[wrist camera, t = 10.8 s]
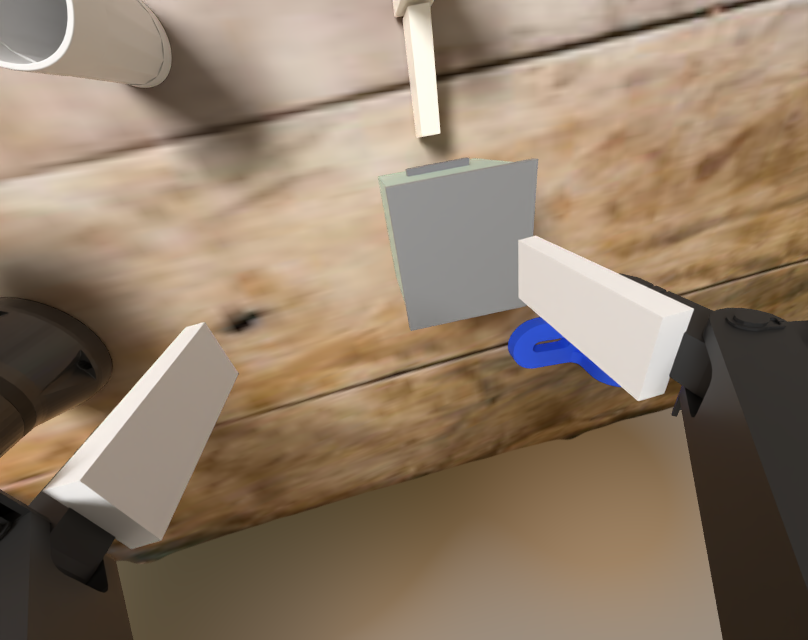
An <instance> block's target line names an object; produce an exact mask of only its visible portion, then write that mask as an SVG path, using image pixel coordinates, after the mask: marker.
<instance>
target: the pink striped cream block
mask: <svg viewBox="0 0 808 640" xmlns="http://www.w3.org/2000/svg"><path fill="white" fill-rule="evenodd" d="M433 2H434V0H393V8H394V16H395V18H396V17H402V16H404V17H403V28H404V36H405V45H406V54H407V62H408V71H409V79H410V88H411V97H412V105H413V114H414V123H415V131H416V138H417V137H424V136H430V135H435V134H440V122H439V109H438V97H437V84H436V72H435V59H434V47H433V34H432V22H431V9H430V7H431V5H432V4H433Z"/></svg>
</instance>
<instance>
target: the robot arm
mask: <svg viewBox="0 0 808 640" xmlns="http://www.w3.org/2000/svg"><path fill="white" fill-rule="evenodd" d="M518 286H519V299H521V300H522V301H523V302H524V303H525V304H526V305H528V306H529V307H530V308H531V309H532V310H533V311H534V312H536V313H537V314H538V315H539V316H540V317H541V318H543V319H544V320H545V321H546V322H547V323H548V324H549V325H551V326H552V327H553V328H554V329H555V330H556V331H558V332H559V333H560V334H561V335H562V336H563V337H565V338H566V339H567V340H568V341H569V342H570V343H571V344H573V345H574V346H575V347H576V348H577V349H578V350H580V351H581V352H582V353H583V354H584V355H585V356H587V357H588V358H589V359H590V360H591V361H592V362H593V363H595V364H596V365H597V366H598V367H599V368H600V369H602V370H603V371H604V372H605V373H606V374H607V375H608V376H610V377H611V378H612V379H613V380H614V381H615V382H617V383H618V384H619V385H620V386H621V387H622V388H624V389H625V390H626V391H627V392H628V393H629V394H630V395H632V396H633V397H634V398H635V399H636V400H637V401H641V400H644V399H647V398H651V397H654V396H658V395H661V394H664V392H665V389H666V387H667V384H668V381H669V378H670V377H671V378H673V379H674V380H675V381H677V382H678V383H680V384H681V385H682V387H681V390H680V392H679V395H678V397H677V400H676V402H675V405H674V408H673V411H672V416H677V415H678V412H679V410H682V415H683V421H684V427H685V432H686V438H687V443H688V448H689V454H690V460H691V465H692V471H693V477H694V482H695V487H696V493H697V499H698V504H699V510H700V515H701V521H702V526H703V532H704V538H705V543H706V548H707V554H708V560H709V565H710V571H711V577H712V582H713V587H714V593H715V599H716V604H717V610H718V615H719V621H720V627H721V632H722V638H723V640H808V321H792V322H787V321H785V320H784V319H781V318H779V317H777V316H775V315H773V314H769V313H766V312H762V311H758V310H753V309H745V308H724V309H719V310H716V311H712V310H710V309H708V308H706V307H703V306H701V305H699V304H697V303H694V302H692V301H690V300H688V299H685V298H683V297H681V296H679V295H676V294H674V293H672V292H670V291H669V292H666V290H665V289H663V288H661V287H658V286H654V285H653V284H652V283H649V282H647V281H645V280H643V279H640V278H638V277H633V276H629V275H624V274H618V273H615V272H613V271H611V270H609V269H607V268H605V267H603V266H600V265H598V264H596V263H594V262H592V261H590V260H587V259H585V258H583V257H581V256H579V255H577V254H574V253H572V252H570V251H568V250H566V249H564V248H562V247H559V246H557V245H555V244H553V243H551V242H549V241H546V240H544V239H542V238H540V237H538V236H532V237H528V238H525V239H521V240H518ZM111 372H112V362H111V358H110V355H109V353H108V350H107V349H106V347H105V346H104V344H103V343H102V341H101V340H100V339H99V338H98V337H97V336H96V335H95V334H94V333H93V332H92V331H91V330H90V329H89V328H87V327H86V326H85V325H84V324H82V323H81V322H79V321H78V320H76V319H75V318H73V317H71V316H69V315H68V314H66V313H64V312H62V311H59V310H57V309H55V308H52V307H50V306H47V305H44V304H41V303H37V302H34V301H29V300H24V299H18V298H8V297H0V457H2V456H3V455H4V454H5V453H6V452H7V451H8V450H9V449H10V448H12V447H13V446H14V445H15V444H16V443H17V442H18V441H19V440H20V439H21V438H23V437H24V436H25V435H26V434H27V433H28V432H29V431H31V430H32V429H33V428H34V427H36V426H38V425H40V424H42V423H44V422H46V421H48V420H50V419H52V418H54V417H56V416H58V415H60V414H62V413H64V412H66V411H68V410H70V409H72V408H74V407H76V406H78V405H80V404H82V403H83V402H85V401H87V400H88V399H90V398H91V397H92V396H93V395H94V394H96V393H97V392H98V391H99V390H100V389H101V388H102V387H103V386H104V385H105V384H106V383H107V381H108V380H109V378H110V375H111ZM238 374H239V373H238V372H237V370H236V369H235V367H234V366H233V364H232V363H231V361H230V359H229V358H228V356H227V355H226V353H225V352H224V350H223V349H222V347H221V346H220V344H219V343H218V341H217V340H216V338H215V337H214V335H213V334H212V332H211V331H210V329H209V328H208V326H207V325H206V323H205V322H204V323H200V324H196V325H192V326H188V327H185V329H184V330H183V331H182V332H181V333H180V334H179V335H178V337H177V338H176V339H175V340H174V341H173V342H172V343H171V345H170V346H169V347H168V348H167V349H166V350H165V351H164V353H163V354H162V355H161V356H160V357H159V358H158V359H157V361H156V362H155V363H154V364H153V365H152V366H151V367H150V369H149V370H148V371H147V372H146V373H145V374H144V375H143V377H142V378H141V379H140V380H139V381H138V382H137V383H136V385H135V386H134V387H133V388H132V389H131V390H130V391H129V393H128V394H127V395H126V396H125V397H124V398H123V399H122V401H121V402H120V403H119V404H118V405H117V406H116V407H115V409H114V410H113V411H112V412H111V413H110V414H109V415H108V417H107V418H106V419H105V420H104V421H103V422H102V423H101V424H100V425H99V426H98V427H97V428H96V429H95V430H94V432H93V433H92V434H91V435H90V436H89V437H88V438H87V440H86V441H85V443H84V444H82V445H81V446H80V448H79V449H78V450H77V451H76V452H75V453H74V455H73V457H71V458H70V459H69V460H68V461H67V462H66V464H65V465H64V466H63V467H62V468H61V469H60V470H59V472H58V473H57V474H56V475H55V476H54V477H53V478H52V479H51V481H50V482H49V483H48V484H47V485H46V486H45V487H44V489H43V490H42V491H41V492H40V493H39V494H38V495H37V497H36V498H35V499H34V500H33V501H32V502H31V503H30V505H29V506H27V505H25V504H24V503H22V502H20V501H19V500H17V499H15V498H14V497H12V496H10V495H9V494H7V493H5V492H4V491H2V490H0V640H133V636H132V632H131V628H130V623H129V618H128V614H127V609H126V605H125V600H124V596H123V591H122V587H121V582H120V578H119V573H118V569H117V564H116V561H115V559H114V558H113V557H112V556H111V555H109V554H107V553H106V552H107V551H108V549H109V547H110V546H111V544H112V542H113V540H114V539H117V540H118V541H120V542H121V543H123V544H124V545H126V546H127V547H129V548H131V549H133V548H137V547H140V546H144V545H147V544H150V543H154V542H157V541H161V540H162V538H163V536H164V534H165V531H166V529H167V527H168V525H169V523H170V521H171V518H172V516H173V514H174V512H175V510H176V508H177V506H178V503H179V501H180V499H181V497H182V495H183V493H184V490H185V488H186V486H187V484H188V482H189V480H190V477H191V475H192V473H193V471H194V469H195V467H196V464H197V462H198V460H199V458H200V456H201V454H202V452H203V449H204V447H205V445H206V443H207V441H208V439H209V436H210V434H211V432H212V430H213V428H214V426H215V423H216V421H217V419H218V417H219V415H220V413H221V410H222V408H223V406H224V404H225V402H226V400H227V398H228V395H229V393H230V391H231V389H232V387H233V385H234V382H235V380H236V378H237V376H238Z"/></svg>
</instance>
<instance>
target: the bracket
mask: <svg viewBox="0 0 808 640" xmlns="http://www.w3.org/2000/svg"><path fill="white" fill-rule="evenodd" d="M559 338H562V339H561V340H559V341H556V342H550V343H544V344H538V345H535V344H536V343H538V342H541V341H547V340H553V339H559ZM508 350H509V353H510V354H511V356H512V357H513V358H514V360H515V361H516V362H517V363H518V364H519V365H520V366H522V367H525V368H538V367H544V366H550V365H555V364H561V363H567V362H573V363H577V364H579V365H580V366H582V367H583V368H584V369H585V370H586V371H587V372H588V373H589V374H590V375H591V376H592V377H594V378H595V379H597V380H598V381H600V382H602V383H605V384H608V385H612V386H617V387H621V386H620V385H619V384H618V383H617V382H615V381H614V380H613V379H612V378H611V377H610V376H608V375H607V374H606V373H605V372H604V371H603V370H602V369H600V368H599V367H598V366H597V365H596V364H595V363H593V362H592V361H591V360H590V359H589V358H588V357H587V356H585V355H584V354H583V353H582V352H581V351H580V350H578V349H577V348H576V347H575V346H574V345H573V344H571V343H570V342H569V341H568V340H567V339H566V338H565V337H563V336H562V335H561V334H560V333H559V332H558V331H556V330H555V329H554V328H553V327H552V326H551V325H549V324H548V323H547V322H546V321H545V320H544V319H543V318H541V317H539V318H534V319H531V320H528V321H526V322H524V323H523V324H521V325H520V326H519V327H518V328H517V329H516V330H515V331H514V332H513V333H512V335H511V337H510V339H509V343H508Z"/></svg>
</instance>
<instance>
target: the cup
mask: <svg viewBox="0 0 808 640" xmlns="http://www.w3.org/2000/svg"><path fill="white" fill-rule="evenodd" d="M171 63H172V54H171V47H170V43H169V40H168V37H167V35H166V32H165V30H164V28H163V26H162V25H161V23H160V21H159V20H158V18H157V17H156V16H155V14H154V13H153V12H152V11H151V10H150V9H149V8H148V7H147V6H146V5H145V4H144V3H143V2H142V1H141V0H0V67H3V68H7V69H11V70H17V71H26V72H35V73H44V74H52V75H61V76H73V77H80V78H87V79H94V80H102V81H109V82H116V83H123V84H128V85H132V86H135V87H140V88H150V87H154V86H157V85H159V84H160V83H162V82H163V81H164V80H165V79H166V77H167V76H168V74H169V72H170V68H171Z"/></svg>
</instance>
